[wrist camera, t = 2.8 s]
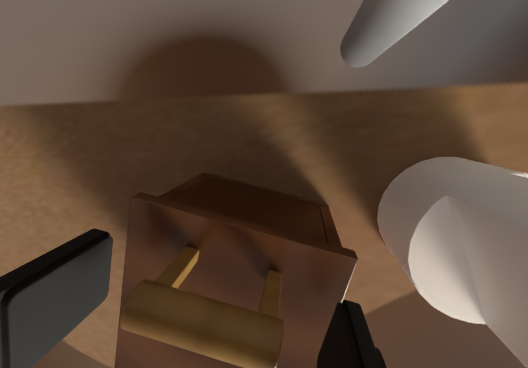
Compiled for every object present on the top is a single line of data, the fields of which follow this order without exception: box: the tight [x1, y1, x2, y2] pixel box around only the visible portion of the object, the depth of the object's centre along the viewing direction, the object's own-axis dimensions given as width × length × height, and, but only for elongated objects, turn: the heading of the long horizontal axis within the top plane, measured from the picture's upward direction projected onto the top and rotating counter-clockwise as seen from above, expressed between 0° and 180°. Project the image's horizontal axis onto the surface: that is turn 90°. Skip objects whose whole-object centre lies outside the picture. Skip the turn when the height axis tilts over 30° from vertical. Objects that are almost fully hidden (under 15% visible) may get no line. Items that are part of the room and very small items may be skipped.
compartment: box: [159, 172, 342, 247], centre depth 18 cm, size 13×11×9 cm
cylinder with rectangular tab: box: [377, 157, 528, 368], centre depth 14 cm, size 9×9×12 cm
